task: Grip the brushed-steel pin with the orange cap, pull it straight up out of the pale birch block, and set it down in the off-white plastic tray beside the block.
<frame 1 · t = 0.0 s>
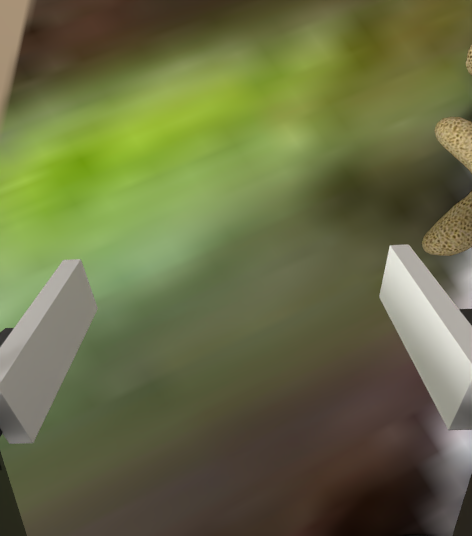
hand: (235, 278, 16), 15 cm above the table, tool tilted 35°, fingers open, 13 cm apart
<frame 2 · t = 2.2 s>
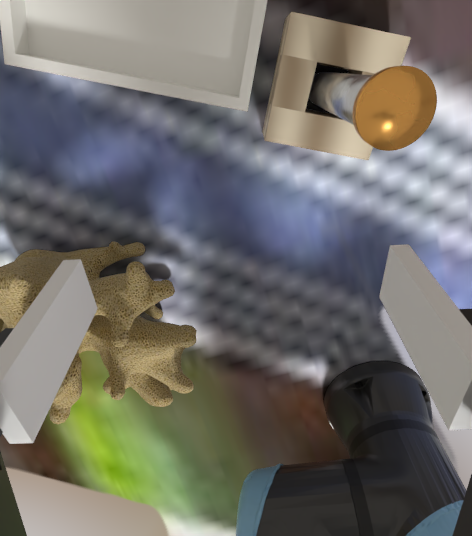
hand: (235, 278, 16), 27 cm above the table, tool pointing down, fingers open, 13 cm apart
pin block: (322, 89, 36), on the table
decorative coral: (122, 292, 49), on the table
steel pin: (347, 96, 28), in the pin block
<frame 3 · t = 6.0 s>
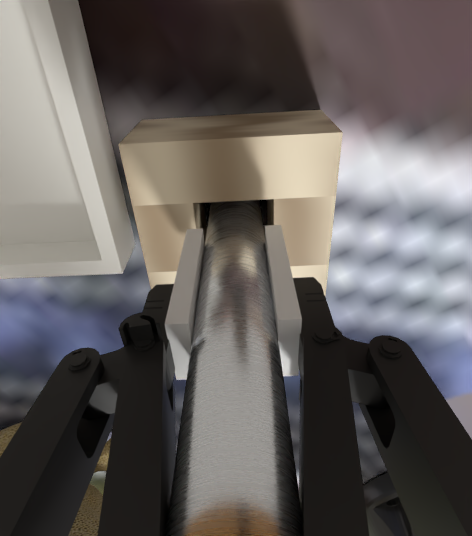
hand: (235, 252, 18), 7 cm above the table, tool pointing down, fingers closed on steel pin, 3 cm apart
pin block: (235, 198, 23), on the table
decorative coral: (73, 448, 40), on the table
steel pin: (235, 296, 15), in the pin block, touching gripper
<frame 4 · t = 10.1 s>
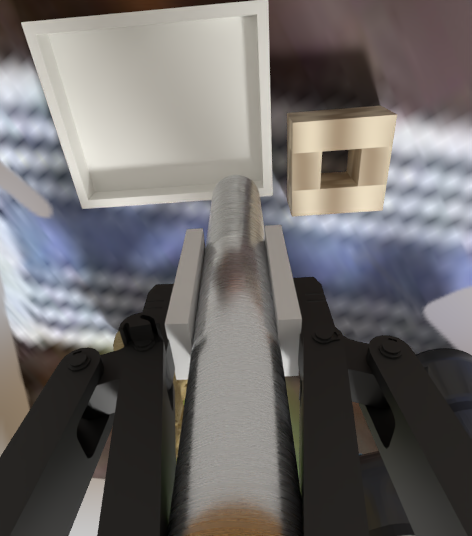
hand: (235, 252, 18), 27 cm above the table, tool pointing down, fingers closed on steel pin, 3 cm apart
tray: (167, 112, 40), on the table
pin block: (330, 155, 42), on the table
decorative coral: (199, 339, 59), on the table
steel pin: (236, 295, 15), point 31 cm above the table, touching gripper
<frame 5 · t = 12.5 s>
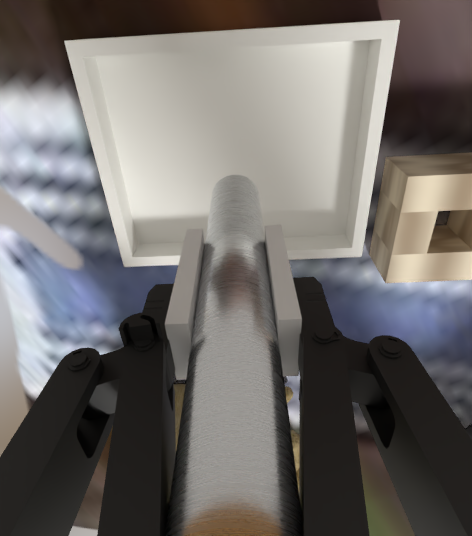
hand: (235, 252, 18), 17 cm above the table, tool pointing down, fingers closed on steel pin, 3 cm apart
tray: (236, 153, 32), on the table
pin block: (430, 206, 35), on the table
decorative coral: (242, 399, 51), on the table
steel pin: (235, 295, 15), point 20 cm above the table, touching gripper
when the fingers open (10 cm above the table, at t = 14.5 s): steel pin drops 2 cm, resting on tray.
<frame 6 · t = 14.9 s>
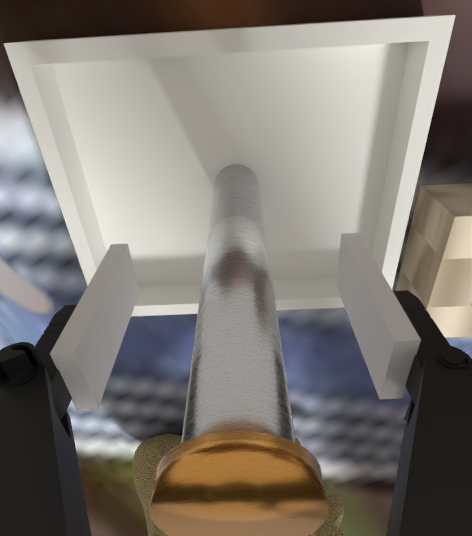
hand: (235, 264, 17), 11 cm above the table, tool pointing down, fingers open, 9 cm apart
tray: (235, 181, 26), on the table
pin block: (470, 243, 29), on the table
decorative coral: (242, 447, 45), on the table
steel pin: (237, 268, 17), in the tray, point 11 cm above the table
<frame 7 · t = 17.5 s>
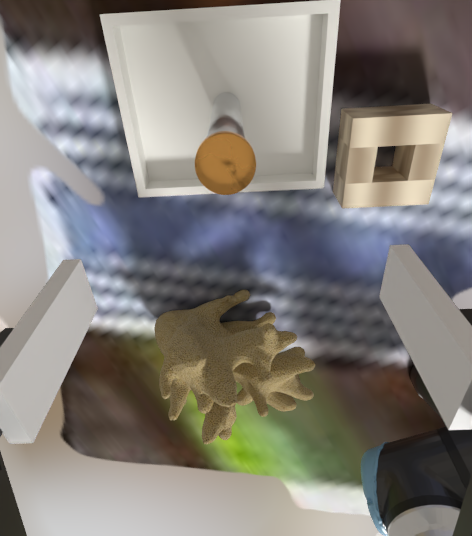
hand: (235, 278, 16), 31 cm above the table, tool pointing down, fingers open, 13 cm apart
tray: (226, 105, 41), on the table
pin block: (378, 150, 44), on the table
decorative coral: (233, 326, 61), on the table
steel pin: (226, 128, 32), in the tray, point 11 cm above the table
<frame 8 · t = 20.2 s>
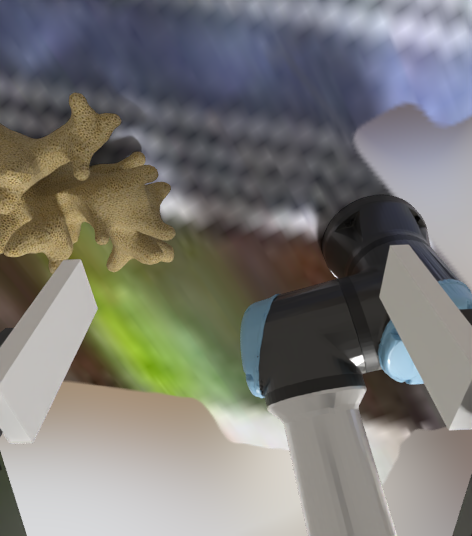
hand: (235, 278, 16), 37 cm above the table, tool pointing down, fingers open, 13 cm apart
decorative coral: (103, 177, 52), on the table
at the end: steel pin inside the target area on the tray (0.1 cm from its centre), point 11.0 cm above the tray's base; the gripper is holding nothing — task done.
